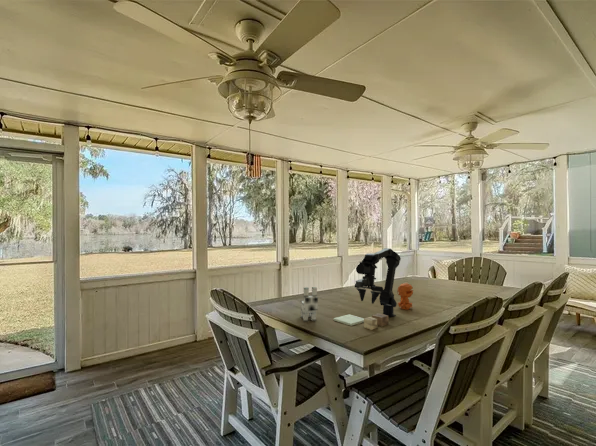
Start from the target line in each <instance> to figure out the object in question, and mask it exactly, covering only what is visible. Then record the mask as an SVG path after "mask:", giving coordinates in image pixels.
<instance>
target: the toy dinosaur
mask: <svg viewBox="0 0 596 446" xmlns="http://www.w3.org/2000/svg"><path fill="white" fill-rule="evenodd" d="M396 290H397V295H398V296H400V301H399V302H397V305H398V308H400V309H401V310H406V311H408V310H410V309H413V302H410V300H409V298H411V297H412V295H413V293H414V290H413V286H412V284H410V283H408V282H404V283H401V284H400V285H399V286H398V287H397V289H396Z"/></svg>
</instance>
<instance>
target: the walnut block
mask: <svg viewBox="0 0 596 446" xmlns="http://www.w3.org/2000/svg"><path fill="white" fill-rule="evenodd" d="M371 317H372V318H375V319H377V326H379V327H384V326H387V325H389V317H388V315H384V314H383V313H378V312H377V313H375V314H372V315H371Z"/></svg>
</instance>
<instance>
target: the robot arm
mask: <svg viewBox="0 0 596 446" xmlns="http://www.w3.org/2000/svg"><path fill="white" fill-rule="evenodd" d="M382 259H385V264H386V265H387V270H386V277H385V282H384V288H383V286H379V285H376V284H375V280H376V279H377V277H375V275H376V274H375V273H376V269H378V266H377V264H378V263H379V262H380V260H382ZM401 259H402V258H401V255H399V253H397V252H395V251H394V250H393V249H392V248H388V247H387V248H382V249H381V250H378V251H376V252H373V253H371V252H370V253H366V254H364V257H363V258H362V260H361V261H359V263H358V264H357V265H356V268H355V271H356V273H357V274H358V275H364V276H362V278H361V279H357V280H355V284H354V288H355V290H357V291H358V294H359V298H360V301H361V302H363V301H364V298H365V297H366V296H365V295H366V293H367V290H368V289H369V290H370V293H371V304H372V305H373V304H375V302H376V300H377V299H379V304H380V306H383V308H382V311H383V312H382V314H384V315H388V318H392V317H395V316H396V314H394V310H395V309H394V308H396V307H397V305H398V302H397V301H396V300H395V294H394V292H393V289H394V281H395V275H396V271H397V270H396V269H397V268H398V267H399V265H400V262H401ZM378 297H379V298H378Z"/></svg>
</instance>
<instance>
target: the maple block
mask: <svg viewBox="0 0 596 446" xmlns="http://www.w3.org/2000/svg"><path fill="white" fill-rule="evenodd" d="M363 328H364V329H368V330H371V331H372V330H375V329H377V328H378V325H377V319H375V318H372V316H369V317H365V318H364V322H363Z"/></svg>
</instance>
